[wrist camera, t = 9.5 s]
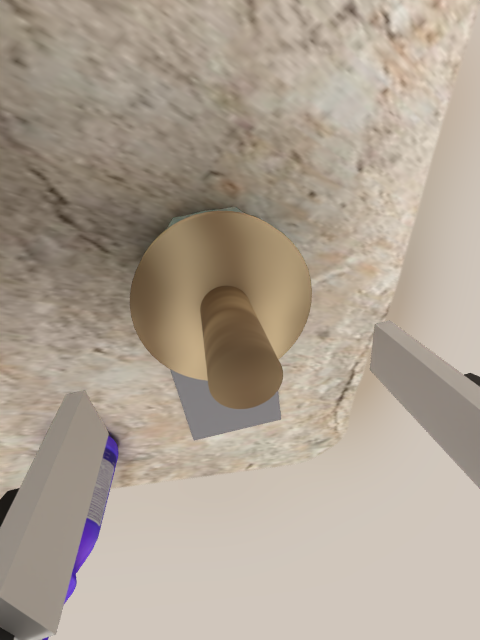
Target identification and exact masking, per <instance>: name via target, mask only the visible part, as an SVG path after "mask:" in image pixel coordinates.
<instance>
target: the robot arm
mask: <svg viewBox="0 0 480 640" xmlns="http://www.w3.org/2000/svg"><path fill="white" fill-rule="evenodd" d="M370 371H371V372H372V373H373V374H374V375H375V376H376V377H377V378H378V379H379V380H380V381H381V383H382V384H383V385H384V386H385V387H386V388H387V389H388V390H389V391H390V392H391V393H392V394H393V396H394V397H395V398H396V399H397V400H398V401H399V402H400V403H401V404H402V405H403V406H404V407H405V409H406V410H407V411H408V412H409V413H410V414H411V415H412V416H413V417H414V418H415V419H416V420H417V421H418V423H419V424H420V425H421V426H422V427H423V428H424V429H425V430H426V431H427V432H428V433H429V434H430V436H431V437H433V439H434V440H435V441H436V442H437V443H438V444H439V445H440V446H441V447H442V448H443V449H444V451H445V452H446V453H447V454H448V455H449V456H450V457H451V458H452V459H453V460H454V461H455V463H457V465H458V466H459V467H460V468H461V469H462V470H463V471H464V472H465V473H466V474H467V475H468V476H469V478H470V479H471V480H472V481H473V482H474V483H475V484H476V485H477V486H478V487H479V488H480V377H479V376H477V375H474V374H472V373H468V374H464V375H463V374H462V373H460V372H459V371H458V370H456V369H455V368H454V367H452V366H451V365H450V364H448V363H447V362H445V361H444V360H442V359H441V358H440V357H439V356H437V355H436V354H435V353H433V352H432V351H431V350H429V349H428V348H427V347H425V346H424V345H422V344H421V343H420V342H419V341H417V340H416V339H414V338H413V337H412V336H410V335H409V334H408V333H406V332H405V331H404V330H402V329H401V328H400V327H398V326H397V325H396V324H394V323H393V322H391V321H386V322H381V323H377V324H375V327H374V336H373V345H372V354H371V363H370ZM108 435H109V433H108V431H107V429H106V427H105V426H104V424H103V422H102V420H101V418H100V417H99V415H98V413H97V411H96V409H95V408H94V406H93V404H92V402H91V400H90V399H89V397H88V395H87V393H86V391H85V390H83V391H79V392H74V393H70V394H66V396H65V398H64V400H63V402H62V404H61V406H60V408H59V410H58V412H57V414H56V416H55V418H54V420H53V422H52V424H51V426H50V428H49V430H48V432H47V434H46V436H45V438H44V440H43V442H42V444H41V446H40V448H39V450H38V452H37V454H36V456H35V458H34V460H33V462H32V464H31V466H30V468H29V470H28V472H27V474H26V477H25V479H24V481H23V483H22V485H21V487H20V488H18V489H14V490H10V491H7V492H6V494H5V495H4V496H3V497H2V498H1V499H0V640H14V637H15V638H17V639H19V640H40V639H43V638H47V637H50V636H53V635H56V632H57V628H58V624H59V620H60V617H61V613H62V609H63V606H64V602H65V598H66V594H67V590H68V587H69V583H70V579H71V575H72V571H73V568H74V564H75V560H76V556H77V552H78V549H79V545H80V541H81V537H82V533H83V530H84V526H85V522H86V518H87V514H88V511H89V507H90V503H91V499H92V495H93V492H94V488H95V484H96V480H97V477H98V473H99V469H100V465H101V461H102V458H103V454H104V450H105V446H106V442H107V439H108Z"/></svg>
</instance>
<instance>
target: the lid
mask: <svg viewBox="0 0 480 640" xmlns="http://www.w3.org/2000/svg"><path fill="white" fill-rule="evenodd" d="M311 298H312V288H311V280H310V275H309V271H308V268H307V266H306V263H305V261H304V259H303V257H302V255H301V254H300V252H299V250H298V249H297V248H296V247H295V245H294V244H293V243H292V241H291V240H289V239H288V238H287V237H286V236H285V235H284V234H283V233H282V232H280V231H279V230H277V229H276V228H274V227H273V226H272V225H270V224H268V223H267V222H265V221H263V220H261V219H259V218H257V217H254V216H251V215H248V214H245V213H240V212H234V211H210V212H204V213H200V214H196V215H193V216H190V217H188V218H185V219H183V220H181V221H179V222H177V223H175V224H174V225H172V226H170V227H169V228H168V229H166V230H165V231H164V232H163V233H161V234H160V235H159V236H158V237H157V238H156V239H155V240H154V242H153V243H152V244H151V245H150V247H149V248H148V249H147V251H146V252H145V254H144V256H143V258H142V260H141V262H140V264H139V266H138V268H137V270H136V272H135V275H134V278H133V281H132V286H131V292H130V310H131V317H132V321H133V324H134V328H135V330H136V332H137V334H138V336H139V338H140V340H141V342H142V343H143V345H144V346H145V348H146V349H147V350H148V351H149V352H150V353H151V355H152V356H154V357H155V358H156V359H157V360H158V361H159V362H160V363H162V364H163V365H165V366H166V367H168V368H169V369H171V370H173V371H175V372H177V373H179V374H182V375H184V376H187V377H191V378H195V379H199V380H206V381H208V386H209V391H210V393H211V395H212V397H213V398H214V399H215V400H216V401H217V402H218V403H220V404H221V405H223V406H225V407H228V408H232V409H248V408H253V407H256V406H258V405H261V404H263V403H265V402H266V401H268V400H269V399H270V398H271V397H273V396H274V395H275V393H276V392H277V391H278V389H279V388H280V385H281V383H282V379H283V370H282V366H281V364H280V362H279V360H278V359H279V358H281V357H282V356H283V355H284V354H285V353H286V352H287V351H288V350H289V349H290V348H291V347H292V345H293V344H294V343H295V342H296V340H297V339H298V337H299V336H300V334H301V332H302V330H303V328H304V326H305V324H306V322H307V318H308V315H309V312H310V306H311Z"/></svg>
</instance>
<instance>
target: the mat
mask: <svg viewBox="0 0 480 640" xmlns="http://www.w3.org/2000/svg"><path fill="white" fill-rule="evenodd" d="M170 370H171V369H170ZM171 373H172V376H173V379H174V382H175V385H176V388H177V391H178V394H179V397H180V400H181V403H182V406H183V409H184V412H185V415H186V418H187V421H188V424H189V427H190V430H191V433H192V436H193V439H194V440H198V439H202V438H206V437H210V436H215V435H219V434H223V433H227V432H231V431H235V430H239V429H243V428H248V427H252V426H256V425H260V424H264V423H268V422H272V421H276V420H281V414H280V404H279V395H278V391H277V392H276V393H275V395H274V396H273V397H271V398H270V399H269V400H268V401H266V402H265V403H263V404H261V405H258V406H256V407H253V408H248V409H232V408H228V407H225V406H223V405H221V404H220V403H218V402H217V401H216V400H215V399H214V398H213V397H212V395H211V393H210V391H209V386H208V381H206V380H199V379H195V378H191V377H187V376H184V375H182V374H179V373H177V372H175V371H173V370H171Z"/></svg>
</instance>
